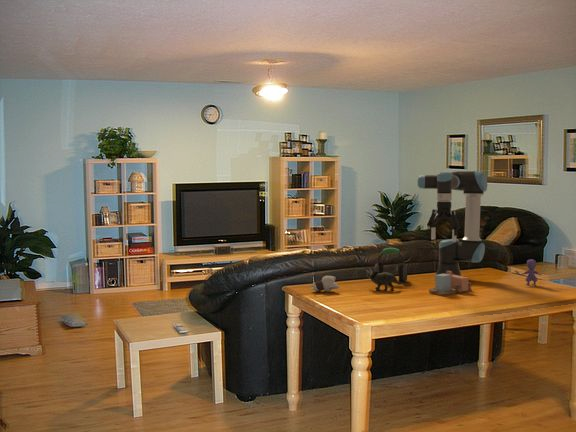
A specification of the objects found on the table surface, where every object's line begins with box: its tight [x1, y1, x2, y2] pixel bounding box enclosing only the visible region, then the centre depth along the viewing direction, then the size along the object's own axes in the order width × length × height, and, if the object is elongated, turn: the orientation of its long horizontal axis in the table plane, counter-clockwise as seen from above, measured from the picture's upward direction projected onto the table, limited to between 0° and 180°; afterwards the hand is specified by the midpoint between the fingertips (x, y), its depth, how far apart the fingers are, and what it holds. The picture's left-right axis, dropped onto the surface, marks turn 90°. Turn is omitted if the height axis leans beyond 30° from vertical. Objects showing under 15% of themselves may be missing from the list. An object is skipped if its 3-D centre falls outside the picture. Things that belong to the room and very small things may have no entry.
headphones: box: [374, 247, 408, 283], centre depth 390 cm, size 19×11×20 cm, turn 80°
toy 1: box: [310, 275, 340, 293], centre depth 362 cm, size 13×9×15 cm
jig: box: [428, 281, 473, 297], centre depth 360 cm, size 14×22×4 cm, turn 130°
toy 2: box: [513, 258, 549, 287], centre depth 375 cm, size 18×6×15 cm, turn 84°
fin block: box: [434, 274, 451, 292], centre depth 356 cm, size 5×7×9 cm
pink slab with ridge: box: [446, 271, 469, 291], centre depth 363 cm, size 14×5×9 cm, turn 31°
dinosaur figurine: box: [365, 267, 406, 292], centre depth 366 cm, size 22×8×11 cm, turn 71°
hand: (443, 240), depth 354 cm, fingers open, 13 cm apart
